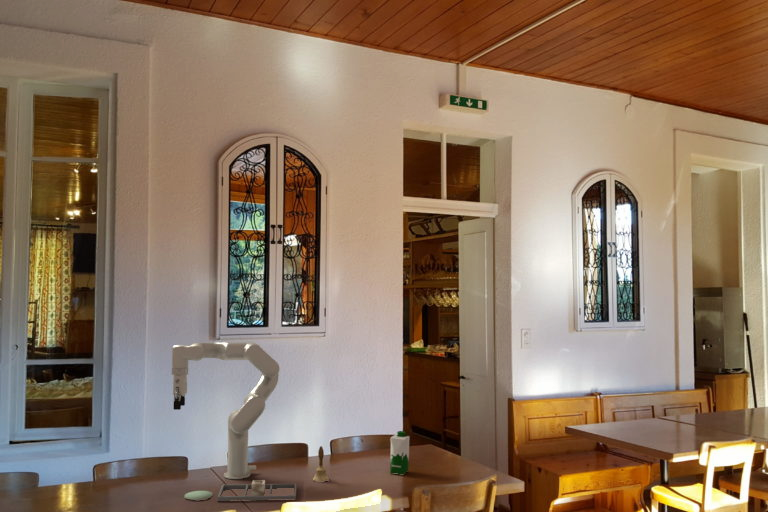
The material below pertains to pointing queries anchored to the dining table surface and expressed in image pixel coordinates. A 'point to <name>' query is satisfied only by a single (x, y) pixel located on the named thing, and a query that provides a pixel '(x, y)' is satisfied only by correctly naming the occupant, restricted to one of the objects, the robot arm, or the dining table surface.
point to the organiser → (244, 497)
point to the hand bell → (320, 468)
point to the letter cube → (258, 488)
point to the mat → (198, 495)
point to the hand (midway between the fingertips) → (179, 407)
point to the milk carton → (399, 453)
